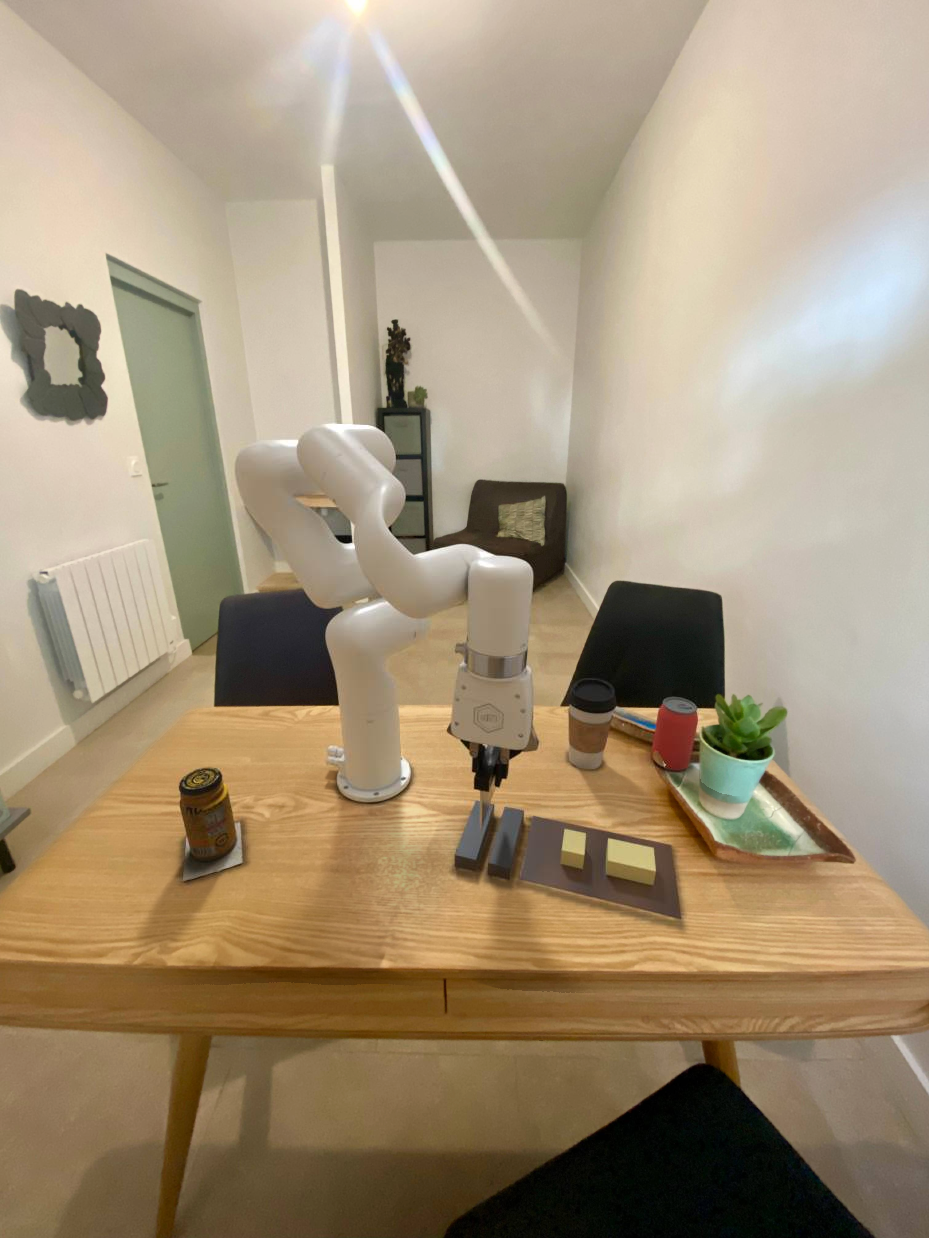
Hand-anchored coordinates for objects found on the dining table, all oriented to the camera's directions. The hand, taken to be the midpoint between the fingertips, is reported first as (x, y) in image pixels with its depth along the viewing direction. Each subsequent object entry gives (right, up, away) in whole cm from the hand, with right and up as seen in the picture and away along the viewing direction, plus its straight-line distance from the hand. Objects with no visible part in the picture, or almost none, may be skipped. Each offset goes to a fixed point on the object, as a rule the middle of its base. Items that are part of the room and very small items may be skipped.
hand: (489, 777), depth 66 cm
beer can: (+34, -5, +23) cm, 42 cm away
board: (+15, -13, +1) cm, 20 cm away
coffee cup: (+19, -5, +23) cm, 30 cm away
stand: (0, -11, +4) cm, 12 cm away
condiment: (-39, -12, +3) cm, 41 cm away
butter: (+19, -12, -1) cm, 22 cm away
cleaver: (0, -4, +1) cm, 4 cm away
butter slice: (+12, -11, +1) cm, 16 cm away
